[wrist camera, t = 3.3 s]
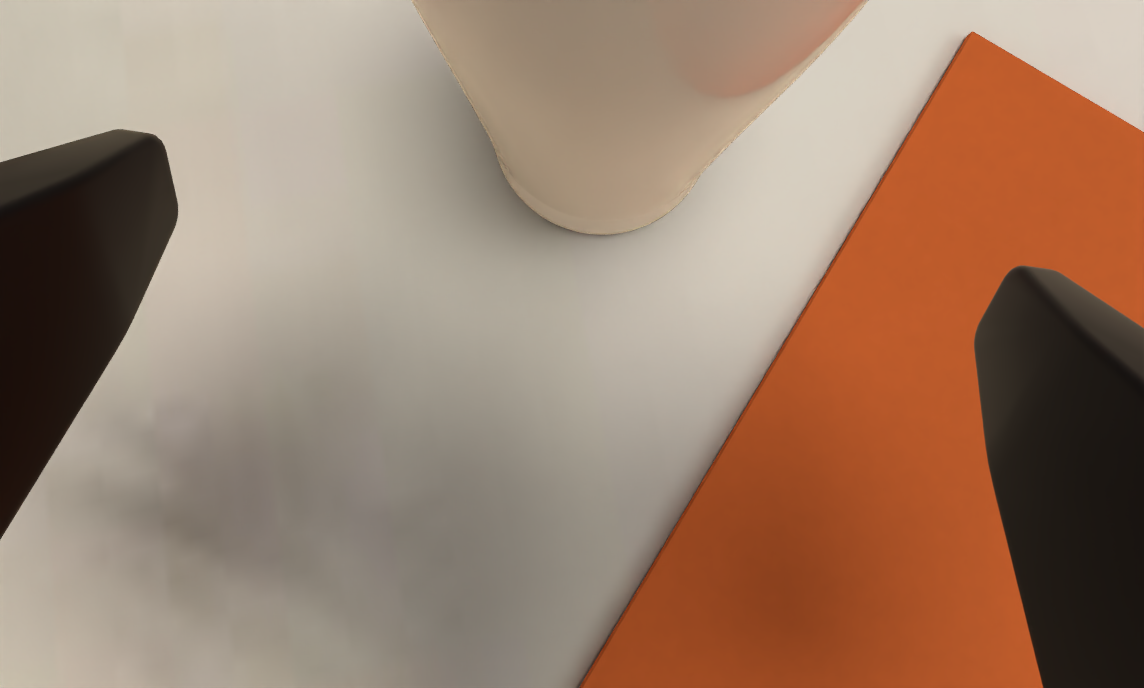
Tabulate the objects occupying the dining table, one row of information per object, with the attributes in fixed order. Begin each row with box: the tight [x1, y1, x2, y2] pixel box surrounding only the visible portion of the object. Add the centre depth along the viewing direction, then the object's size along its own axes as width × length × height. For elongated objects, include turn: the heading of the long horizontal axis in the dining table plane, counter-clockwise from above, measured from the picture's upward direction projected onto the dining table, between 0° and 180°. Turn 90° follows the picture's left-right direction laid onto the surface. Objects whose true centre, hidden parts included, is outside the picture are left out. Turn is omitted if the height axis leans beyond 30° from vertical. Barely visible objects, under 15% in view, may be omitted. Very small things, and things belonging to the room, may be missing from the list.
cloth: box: [579, 32, 1144, 688], centre depth 21 cm, size 22×13×1 cm, turn 148°
